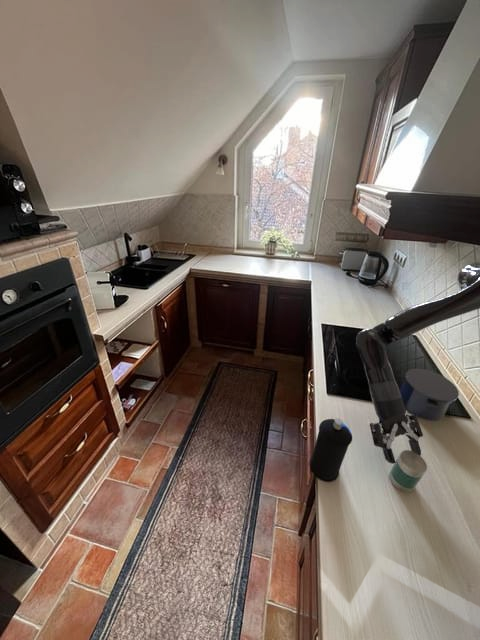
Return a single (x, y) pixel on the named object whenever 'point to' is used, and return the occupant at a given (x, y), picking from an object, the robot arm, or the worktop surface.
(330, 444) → the aerosol can
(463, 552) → the worktop surface
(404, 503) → the worktop surface
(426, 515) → the worktop surface
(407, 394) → the pot
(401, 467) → the tin can
